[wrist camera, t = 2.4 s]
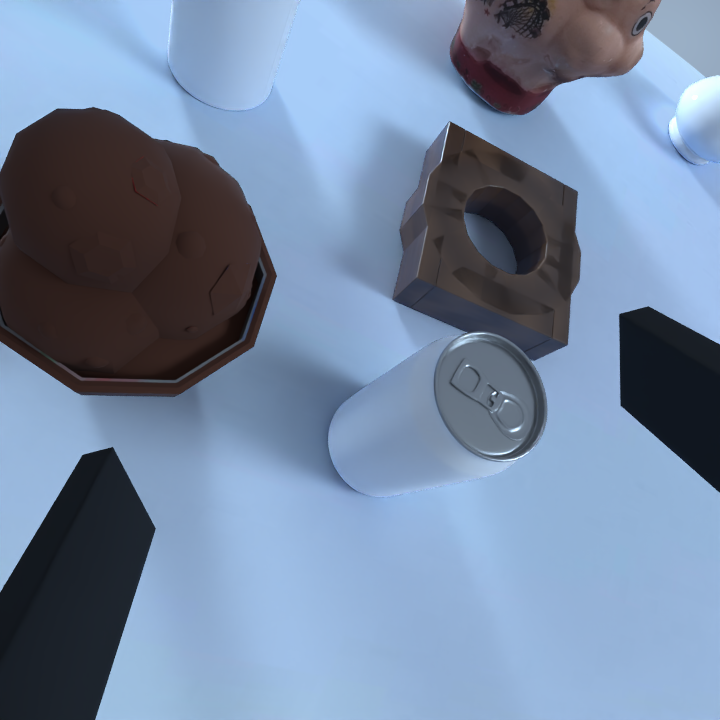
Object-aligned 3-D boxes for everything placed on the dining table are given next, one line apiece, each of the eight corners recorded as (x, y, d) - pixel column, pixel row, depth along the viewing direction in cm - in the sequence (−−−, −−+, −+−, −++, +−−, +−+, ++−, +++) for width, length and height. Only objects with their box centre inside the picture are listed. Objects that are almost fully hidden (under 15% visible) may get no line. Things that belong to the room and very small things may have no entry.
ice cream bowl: (50, 475, 26) (-27, 397, 13) (-8, 267, 27) (-127, 11, 14) (258, 409, 31) (359, 305, 17) (197, 237, 32) (247, 26, 19)
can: (390, 520, 31) (522, 506, 21) (304, 454, 31) (397, 404, 20) (438, 435, 35) (574, 385, 24) (361, 372, 34) (467, 293, 23)
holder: (383, 296, 36) (407, 273, 33) (418, 147, 42) (441, 116, 39) (541, 364, 40) (575, 348, 37) (554, 218, 46) (584, 194, 43)
